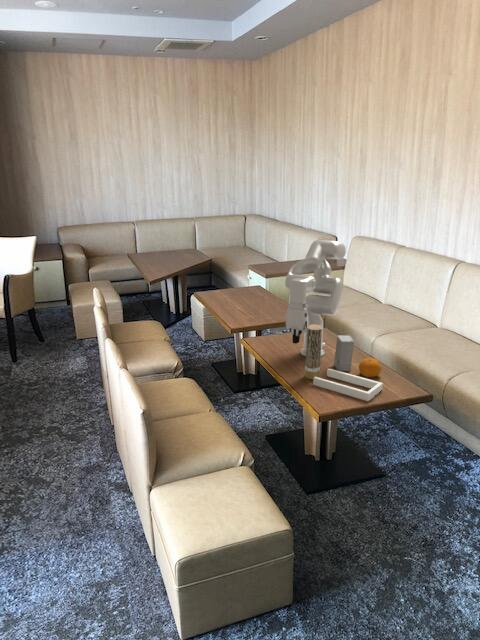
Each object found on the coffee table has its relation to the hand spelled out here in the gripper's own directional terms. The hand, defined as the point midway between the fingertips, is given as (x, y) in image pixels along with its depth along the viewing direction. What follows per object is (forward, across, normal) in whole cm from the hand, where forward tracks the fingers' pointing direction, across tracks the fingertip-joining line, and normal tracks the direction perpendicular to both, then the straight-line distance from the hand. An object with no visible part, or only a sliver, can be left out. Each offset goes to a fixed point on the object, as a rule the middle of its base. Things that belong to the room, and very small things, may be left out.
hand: (295, 342), depth 249 cm
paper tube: (+15, -10, 0) cm, 18 cm away
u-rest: (+15, -27, 0) cm, 31 cm away
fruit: (+15, -30, -19) cm, 38 cm away
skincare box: (+15, -16, -19) cm, 29 cm away
